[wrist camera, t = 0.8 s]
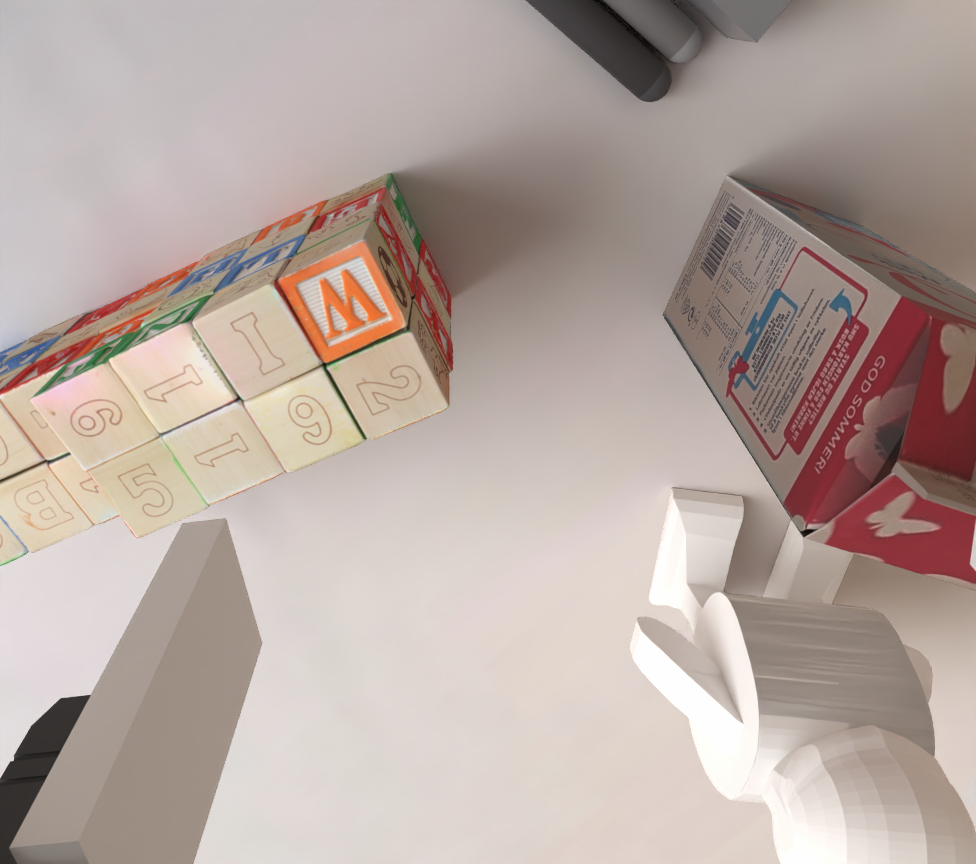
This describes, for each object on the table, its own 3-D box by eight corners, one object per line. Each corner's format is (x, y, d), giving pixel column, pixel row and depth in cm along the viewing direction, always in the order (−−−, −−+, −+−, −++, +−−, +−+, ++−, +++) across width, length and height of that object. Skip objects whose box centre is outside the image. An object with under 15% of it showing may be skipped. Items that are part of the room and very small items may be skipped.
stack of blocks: (56, 470, 44) (-79, 632, 33) (-26, 362, 41) (-203, 497, 30) (455, 297, 41) (453, 411, 30) (393, 166, 38) (366, 239, 27)
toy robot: (899, 514, 46) (1177, 846, 28) (843, 650, 50) (1058, 1019, 32) (636, 483, 45) (753, 810, 27) (600, 625, 49) (682, 995, 31)
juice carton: (727, 175, 38) (1009, 370, 19) (862, 226, 40) (1263, 461, 20) (662, 315, 41) (850, 615, 21) (791, 360, 42) (1082, 683, 23)
